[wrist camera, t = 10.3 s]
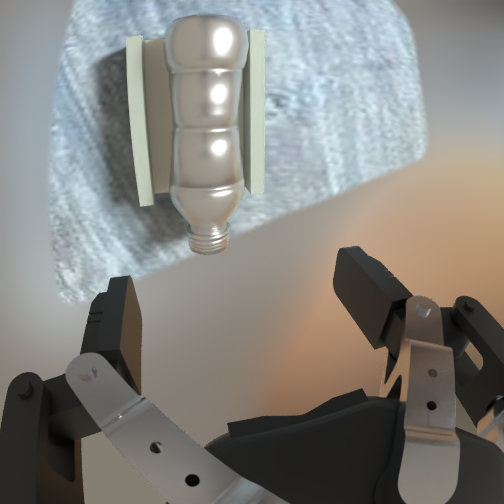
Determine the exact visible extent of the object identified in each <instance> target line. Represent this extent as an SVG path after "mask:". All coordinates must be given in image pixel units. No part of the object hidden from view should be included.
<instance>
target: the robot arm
mask: <svg viewBox="0 0 504 504" xmlns="http://www.w3.org/2000/svg"><path fill="white" fill-rule="evenodd" d="M333 287H334V291H335V293H336V295H337V297H338V298H339V299H340V301H341V302H342V303H343V305H344V306H345V308H346V309H347V311H348V312H349V313H350V315H351V316H352V318H353V319H354V320H355V322H356V323H357V325H358V326H359V328H360V329H361V331H362V332H363V333H364V335H365V336H366V338H367V339H368V341H369V342H370V344H371V345H372V346H373V348H374V349H378V348H381V347H384V346H386V347H387V349H388V350H387V352H386V355H385V361H384V368H383V375H382V381H381V387H380V392H379V395H378V397H377V396H368V397H367V396H366V394H365V393H364V391H363V389H358V390H355V391H353V392H350V393H347V394H343V395H341V396H337V397H334V398H332V399H330V400H328V401H327V402H325V403H323V404H322V405H320V406H318V407H316V408H315V409H313V410H311V411H309V412H308V413H306V414H303V415H297V416H261V417H257V418H252V419H247V420H241V421H236V422H231V423H227V425H228V431H229V432H228V433H226V434H223V435H221V436H220V437H217V438H216V439H214V440H213V441H211V442H210V443H208V444H207V445H206V446H205V447H204V448H203V447H202V446H200V445H199V444H198V443H197V442H196V441H194V440H193V439H192V438H191V437H190V436H188V435H187V434H186V433H185V432H184V431H183V430H181V429H180V428H179V427H178V426H177V425H176V424H175V423H174V422H172V421H171V420H170V419H169V418H168V417H167V416H166V415H165V414H164V413H162V412H161V411H160V410H159V409H158V408H157V407H156V406H155V405H154V404H153V403H152V402H151V401H150V400H148V399H147V398H145V397H144V398H143V399H142V398H141V397H140V395H141V341H142V317H141V311H140V307H139V303H138V300H137V296H136V292H135V288H134V285H133V281H132V278H131V276H130V275H129V276H121V277H113V278H110V281H109V286H108V290H107V292H103V293H99V294H98V295H97V296H96V298H95V299H94V300H93V302H92V303H91V308H90V312H89V316H88V320H87V324H86V328H85V333H84V337H83V342H82V347H81V352H80V355H79V356H77V357H76V358H74V359H73V360H72V361H71V362H70V363H69V365H68V367H67V369H66V373H65V374H63V375H61V376H58V377H55V378H52V379H48V380H45V381H42V379H41V378H40V377H39V376H38V375H37V374H35V373H32V372H26V373H22V374H20V375H18V376H17V377H15V378H14V379H13V380H12V382H11V383H10V386H9V387H8V391H7V396H6V400H5V405H4V410H3V416H2V422H1V429H0V504H85V503H84V492H83V479H82V456H81V438H83V437H86V436H89V435H92V434H95V433H98V432H101V431H102V432H103V433H104V434H105V436H106V437H107V438H108V439H109V441H110V442H111V443H112V444H113V445H114V446H115V448H116V449H117V450H118V451H119V452H120V454H121V455H122V456H123V457H124V458H125V459H126V460H127V462H128V463H129V464H130V465H131V466H132V467H133V468H134V469H135V470H136V471H137V472H138V473H139V474H140V475H141V476H142V477H143V479H145V481H146V482H147V483H149V485H150V486H151V487H152V488H154V490H156V492H157V493H159V494H160V495H161V496H162V497H163V498H164V499H165V500H166V501H167V502H166V504H504V329H503V328H502V327H501V325H500V324H499V323H498V322H497V321H496V320H495V319H494V318H493V316H491V314H490V313H489V312H488V311H487V310H486V309H485V308H484V307H483V306H482V305H481V304H480V303H479V302H478V301H477V300H475V299H474V298H471V297H468V296H460V297H458V298H457V299H456V301H455V303H454V306H453V307H439V306H438V305H437V304H436V302H434V301H433V300H432V299H429V298H427V297H424V296H413V295H412V294H411V293H410V292H409V291H408V290H407V289H406V288H405V287H404V285H403V284H402V283H401V282H400V281H399V280H398V279H397V278H396V277H394V275H393V274H392V273H391V272H390V271H388V269H387V268H386V267H385V266H384V265H383V264H382V263H381V262H380V261H378V260H376V259H374V258H372V257H371V256H368V255H367V254H366V253H365V252H364V251H363V250H362V249H361V248H360V247H359V246H352V247H346V248H340V249H339V251H338V254H337V260H336V266H335V272H334V278H333ZM470 341H471V342H472V344H473V345H474V346H475V348H476V349H477V350H478V351H479V353H480V354H481V355H482V357H483V367H482V369H481V370H480V371H479V370H478V368H477V367H476V365H475V364H474V363H473V361H472V360H471V359H470V357H469V356H468V355H467V353H466V352H465V349H466V347H467V346H468V344H469V342H470ZM455 394H456V396H457V397H458V399H459V400H460V402H461V404H462V405H463V407H464V408H465V410H466V411H467V413H468V415H469V416H470V418H471V420H472V421H473V423H474V425H475V426H476V428H477V433H478V435H474V434H472V433H469V432H466V431H464V430H462V429H459V428H457V427H455Z"/></svg>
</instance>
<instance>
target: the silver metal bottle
mask: <svg viewBox="0 0 504 504" xmlns="http://www.w3.org/2000/svg"><path fill="white" fill-rule="evenodd" d="M248 47H249V42H248V36H247V30H246V28H245V26H244V25H243V23H242V22H241V21H240V20H239V19H237V18H234V17H230V16H224V15H217V14H198V15H192V16H186V17H182V18H178V19H176V20H174V21H173V22H172V23H171V24H170V26H169V27H168V28H167V30H166V33H165V38H164V43H163V51H164V59H165V65H166V69H167V71H168V72H169V76H168V78H169V88H170V98H171V108H172V126H173V131H172V152H171V164H170V177H169V180H170V181H169V195H170V197H171V200H172V202H173V204H174V206H175V207H176V209H177V210H178V211H179V213H180V214H181V215H182V216H183V217H184V218H185V219H186V220H187V221H188V222H189V225H188V226H187V235H188V239H189V247H190V249H191V250H192V251H193V252H195V253H198V254H204V255H207V254H208V255H210V254H216V253H219V252H221V251H223V250H225V249H226V248H227V246H228V233H229V223H228V222H227V220H228V219H229V217H230V216H231V215H232V214H233V212H234V211H235V210H236V208H237V207H238V205H239V204H240V202H241V200H242V197H243V194H244V191H245V183H244V174H243V166H242V158H241V150H240V132H239V128H238V123H239V103H240V94H241V84H242V75H243V74H242V70H243V69H244V67H245V63H246V59H247V53H248Z"/></svg>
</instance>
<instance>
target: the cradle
mask: <svg viewBox="0 0 504 504" xmlns="http://www.w3.org/2000/svg"><path fill="white" fill-rule="evenodd" d="M247 36H248V42H249V47H248V53H247V59H246V63H245V67H244V69H243V70H242V74H243V75H242V84H241V94H240V103H239V123H238V128H239V132H240V150H241V158H242V166H243V174H244V183H245V187H246V188H247V190H248V191H249V192H250V194H260V193H264V148H265V30H249V31H248V32H247ZM163 43H164V38H160V39H152V40H144V39H143V37H142V35H139V36H132V37H126V57H127V85H128V102H129V116H130V128H131V138H132V148H133V157H134V165H135V173H136V181H137V188H138V195H139V202H140V207H141V206H149V205H154V200H155V194H159V193H167V192H169V181H170V180H169V177H170V164H171V152H172V131H173V126H172V108H171V98H170V88H169V78H168V76H169V72H168V71H167V69H166V65H165V59H164V51H163Z"/></svg>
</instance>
